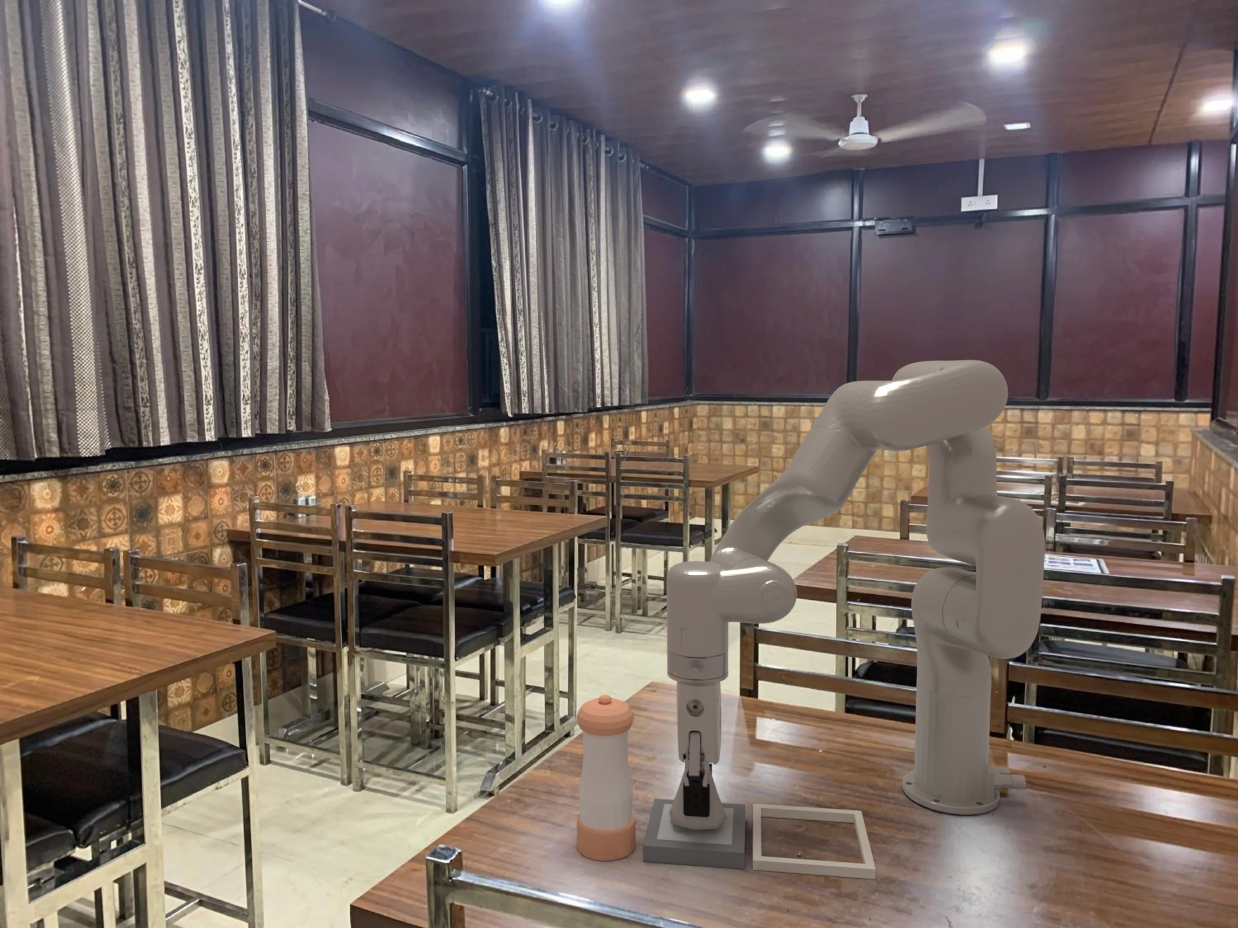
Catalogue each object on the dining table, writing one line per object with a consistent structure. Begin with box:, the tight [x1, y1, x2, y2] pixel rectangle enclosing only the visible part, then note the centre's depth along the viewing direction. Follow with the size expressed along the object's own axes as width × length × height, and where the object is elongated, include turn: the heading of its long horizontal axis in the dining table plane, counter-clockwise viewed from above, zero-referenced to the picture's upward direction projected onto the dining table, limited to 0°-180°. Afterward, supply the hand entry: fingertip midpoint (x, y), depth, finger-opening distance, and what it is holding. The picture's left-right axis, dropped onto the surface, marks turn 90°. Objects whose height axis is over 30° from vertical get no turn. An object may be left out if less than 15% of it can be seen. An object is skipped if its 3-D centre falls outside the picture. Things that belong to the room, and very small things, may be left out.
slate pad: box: [642, 798, 746, 870], centre depth 111 cm, size 12×12×2 cm
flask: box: [669, 754, 727, 830], centre depth 110 cm, size 7×7×10 cm
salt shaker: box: [576, 694, 637, 862], centre depth 108 cm, size 7×7×19 cm
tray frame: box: [752, 803, 877, 880], centre depth 109 cm, size 14×14×1 cm
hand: (698, 802), depth 110 cm, fingers closed on flask, 4 cm apart
